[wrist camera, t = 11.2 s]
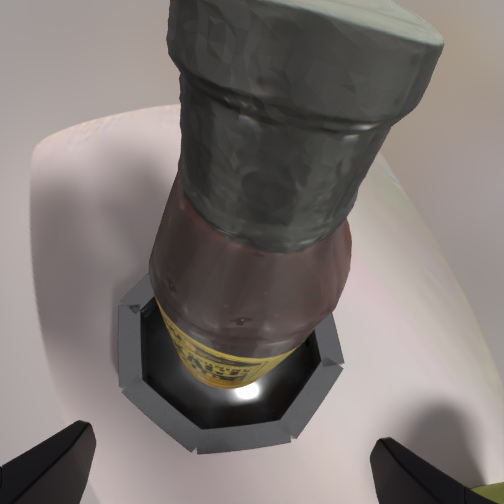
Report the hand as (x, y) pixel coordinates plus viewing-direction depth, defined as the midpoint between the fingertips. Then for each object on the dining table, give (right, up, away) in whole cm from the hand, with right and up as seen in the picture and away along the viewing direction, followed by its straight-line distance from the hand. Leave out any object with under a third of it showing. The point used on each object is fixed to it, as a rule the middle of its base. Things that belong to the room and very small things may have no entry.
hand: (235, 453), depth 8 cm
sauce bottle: (-1, -1, +12) cm, 12 cm away
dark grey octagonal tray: (-1, 0, +13) cm, 13 cm away
